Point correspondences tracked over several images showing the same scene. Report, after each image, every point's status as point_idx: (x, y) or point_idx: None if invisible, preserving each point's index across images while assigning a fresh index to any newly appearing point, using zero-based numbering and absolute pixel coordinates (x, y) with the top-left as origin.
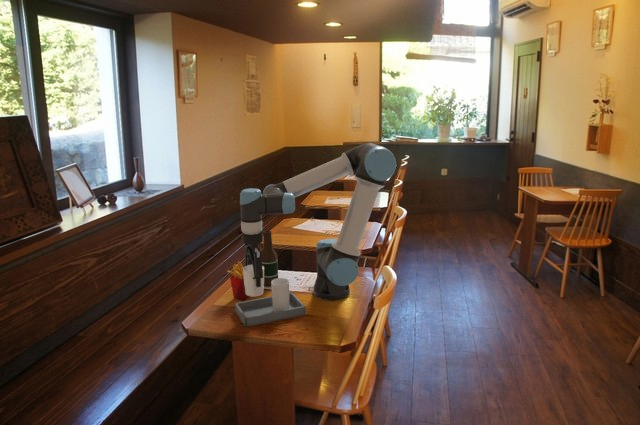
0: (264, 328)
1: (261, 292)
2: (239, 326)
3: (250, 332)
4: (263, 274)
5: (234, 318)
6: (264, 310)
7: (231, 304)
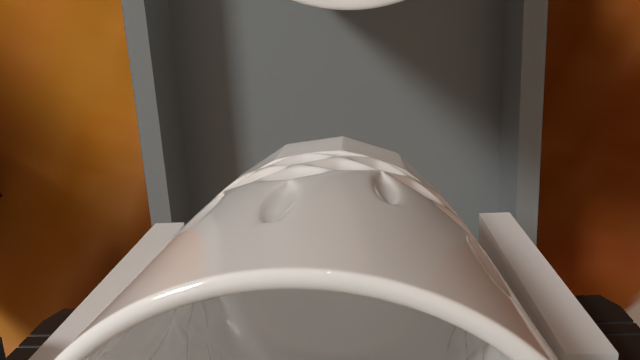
0: (599, 159)
1: (517, 226)
2: None
3: (607, 278)
4: (479, 264)
5: None
6: (283, 74)
7: (40, 295)
